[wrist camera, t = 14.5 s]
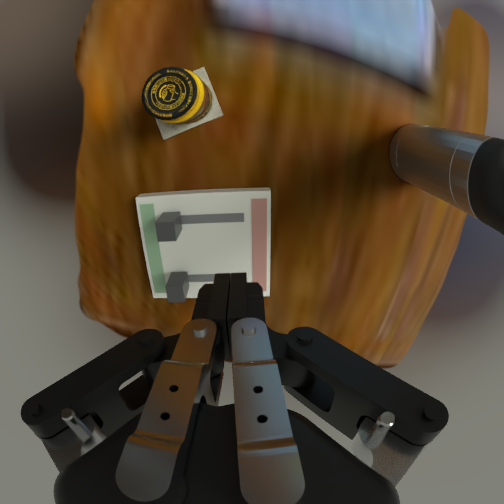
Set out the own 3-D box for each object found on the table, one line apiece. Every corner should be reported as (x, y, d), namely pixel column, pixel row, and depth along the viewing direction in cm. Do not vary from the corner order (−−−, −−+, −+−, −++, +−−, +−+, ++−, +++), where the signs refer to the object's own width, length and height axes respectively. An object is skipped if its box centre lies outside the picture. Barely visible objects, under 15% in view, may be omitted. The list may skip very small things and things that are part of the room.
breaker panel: (269, 187, 38) (270, 191, 36) (268, 291, 45) (269, 299, 43) (140, 193, 37) (135, 197, 35) (157, 293, 44) (154, 300, 43)
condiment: (223, 115, 33) (215, 111, 23) (164, 140, 34) (131, 148, 24) (204, 67, 30) (188, 43, 20) (145, 93, 31) (106, 84, 21)
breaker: (180, 211, 36) (173, 221, 33) (182, 229, 38) (176, 241, 34) (163, 212, 36) (154, 222, 33) (165, 229, 37) (157, 241, 34)
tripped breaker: (187, 271, 40) (182, 286, 37) (189, 286, 41) (185, 302, 38) (171, 272, 40) (165, 286, 37) (173, 286, 41) (168, 302, 38)
